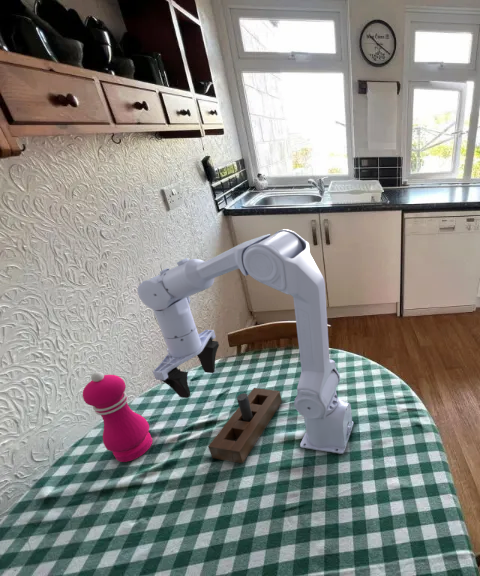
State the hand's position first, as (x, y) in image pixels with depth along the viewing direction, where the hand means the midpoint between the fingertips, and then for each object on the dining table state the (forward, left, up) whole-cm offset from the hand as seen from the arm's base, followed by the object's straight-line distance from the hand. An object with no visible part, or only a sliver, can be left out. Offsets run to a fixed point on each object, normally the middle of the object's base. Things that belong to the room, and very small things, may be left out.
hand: (198, 383), depth 68 cm
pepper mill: (+10, +10, -10) cm, 17 cm away
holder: (-11, +1, -10) cm, 15 cm away
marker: (-11, +1, -10) cm, 15 cm away
